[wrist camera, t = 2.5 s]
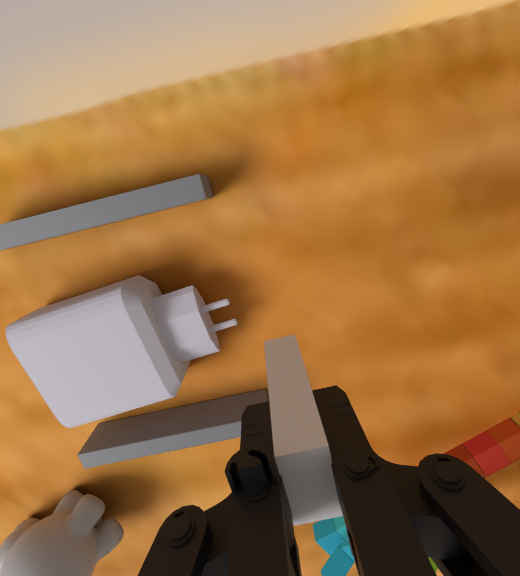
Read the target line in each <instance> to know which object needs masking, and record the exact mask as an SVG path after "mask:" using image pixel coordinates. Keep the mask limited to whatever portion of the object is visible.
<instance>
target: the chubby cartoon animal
mask: <svg viewBox="0 0 520 576" xmlns="http://www.w3.org/2000/svg"><path fill="white" fill-rule="evenodd" d="M104 511H105V505H104V502H103V501H102V500H101V499H100V498H98V497H96V496H94V495H92V494H86V495H83V494H82V493H81V492H79V491H77V490H71V491H69V492H68V493H67V494H66V495H65V496H64V497H63V498H62V499H61V501H60V502H59V504H58V505H57V507H56V509H55V510H54V512H53V513H52V515H50V516H48V517H46V518H44V519H42V520H40V519H37V518H29V519H26V520H24V521H23V522H22V523H20V524H19V525H18V526H17V527H16V528H15V530H14V532H12V533H11V534H10V535H9V536H8V537H7V538H6V539H5V540H4V542H3V543H2V545H1V546H0V576H91V575H92V573H93V570H94V567H95V565H96V563H97V562H98V561H99V560H100V559H101V558H103V557H104V556H106V555H107V554H108V553H109V552H111V551H112V550H113V549H114V548H115V547H116V546H117V545H118V544H119V542H120V541H121V539H122V538H123V535H124V530H123V528H122V526H121V525H120V523H119V522H118V521H117V520H116V519H114V518H113V517H107V518H105V519H104V520H103V519H102V518H101V516H102V515H103V513H104Z"/></svg>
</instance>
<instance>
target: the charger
mask: <svg viewBox="0 0 520 576" xmlns="http://www.w3.org/2000/svg"><path fill="white" fill-rule="evenodd" d="M229 304H230V301H229V299H227V298H226V299H223V300H220V301H217V302H213V303H210V304H207V305H205V302H204V300H203V299H202V297H201V295H200V294H199V292H198V291H197V289H196V288H195V287H194V286H193V285H191V286H188V287H185V288H182V289H179V290H176V291H173V292H170V293H167V294H164V295H162V293H161V291H160V289H159V287H158V285H157V284H156V283H155V282H153V281H151V280H148V279H146V278H144V277H142V276H140V275H137V276H134V277H131V278H128V279H125V280H122V281H119V282H116V283H113V284H110V285H107V286H104V287H101V288H98V289H95V290H92V291H90V292H87V293H84V294H81V295H78V296H75V297H72V298H69V299H66V300H63V301H60V302H57V303H54V304H51V305H48V306H45V307H42V308H39V309H37V310H35V311H33V312H31V313H29V314H28V315H26V316H24V317H22V318H20V319H18V320H16V321H15V322H13V323H11V324H9V325H8V326H7V327H6V338H7V340H8V343H9V346H10V347H11V349H12V351H13V353H14V354H15V356H16V357H17V359H18V360H19V362H20V363H21V365H22V366H23V368H24V369H25V371H26V372H27V374H28V375H29V377H30V379H31V380H32V382H33V383H34V385H35V386H36V388H37V389H38V391H39V392H40V394H41V395H42V397H43V398H44V400H45V401H46V403H47V405H48V406H49V408H50V409H51V411H52V412H53V414H54V415H55V417H56V418H57V419H58V421H59V422H60V423H61V424H62V425H63V426H65V427H67V428H73V427H76V426H79V425H83V424H86V423H89V422H93V421H96V420H99V419H103V418H106V417H109V416H113V415H116V414H119V413H123V412H126V411H130V410H133V409H136V408H140V407H143V406H146V405H150V404H153V403H156V402H160V401H163V400H166V399H170V398H173V397H175V396H176V394H177V392H178V390H179V388H180V386H181V384H182V381H183V379H184V376H185V374H186V371H187V368H188V366H189V363H190V360H193V359H196V358H199V357H202V356H206V355H209V354H212V353H215V352H219V351H220V347H219V341H218V338H217V334H216V331H219V330H222V329H225V328H228V327H231V326H235V325H237V320H236V319H235V318H234V319H231V320H228V321H225V322H222V323H219V324H215V325H214V324H213V322H212V319H211V317H210V314H209V312H208V311H211V310H214V309H217V308H221V307H224V306H227V305H229Z"/></svg>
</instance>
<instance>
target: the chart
mask: <svg viewBox="0 0 520 576" xmlns="http://www.w3.org/2000/svg"><path fill="white" fill-rule="evenodd" d="M510 418H511V419H512V420H511V419H510ZM510 418H508V419H506V420H505V421H503V422H501V423H499V424H497V425H495V426H494V427H492V428H490V429H488V430H486V431H484V432H483V433H481V434H479V435H477V436H475V437H473V438H472V439H470V440H468V441H466V442H464V443H462V444H463V445H462V444H461V445H459V446H457V447H455V448H453V449H451V450H450V451H448V452H446V453H444V454H448V455H451V456H453V457H456V458H459V459H461V460H462V461H464V462H465V463H466V464H468V465H469V466H471V467H472V468H473V469H474V470H475V471H476V472H477V473H479V474H480V475H481V476H482V477H483V478H485V477H486V476H489V475H491V474H493V473H494V472H496V471H498V470H500V469H502V468H504V467H506V466H508V465H510V464H512V463H514V462H516V461H518V460H520V412H519V413H517V414H516V415H514V416H512V417H510ZM484 473H485V474H484ZM313 530H314V535H315V541H316V542H317V543H318V544H319V545H320V546H321V547H322V548H323V549H324V550H325V551H326V552H327V553H328V554H329V555H330V558H329V559H328V561H327V562H326V564H325V565H324V566H323V568H322V569H321V574H322V576H346V574H347V573H348V571H349V570H350V568H351V567H352V565H353V564H354V562H355V560H354V557H353V556H352V553H351V548H350V544H349V539H348V534H347V529H346V525H345V521H344V518H343V516H340V517H335V518H330V519H325V520H321V521H319V522H317V523H316V524H314V525H313ZM428 558H429V560H430V563H431V565H432V567H433V569H434V571H435V572H436V570H437V568H438V567H437V566H436V564H435V563H434V562H433V560H432V559H431V557H428Z"/></svg>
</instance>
